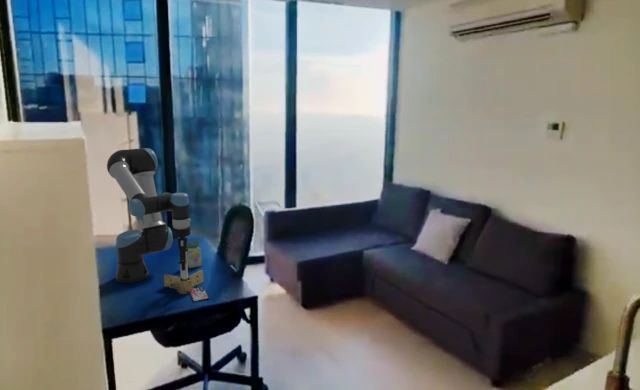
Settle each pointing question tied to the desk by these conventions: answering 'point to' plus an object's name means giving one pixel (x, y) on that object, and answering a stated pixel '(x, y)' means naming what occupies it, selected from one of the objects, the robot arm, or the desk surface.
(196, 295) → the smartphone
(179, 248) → the robot arm
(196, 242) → the ink box
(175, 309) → the desk surface
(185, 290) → the hinge
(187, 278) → the pin
